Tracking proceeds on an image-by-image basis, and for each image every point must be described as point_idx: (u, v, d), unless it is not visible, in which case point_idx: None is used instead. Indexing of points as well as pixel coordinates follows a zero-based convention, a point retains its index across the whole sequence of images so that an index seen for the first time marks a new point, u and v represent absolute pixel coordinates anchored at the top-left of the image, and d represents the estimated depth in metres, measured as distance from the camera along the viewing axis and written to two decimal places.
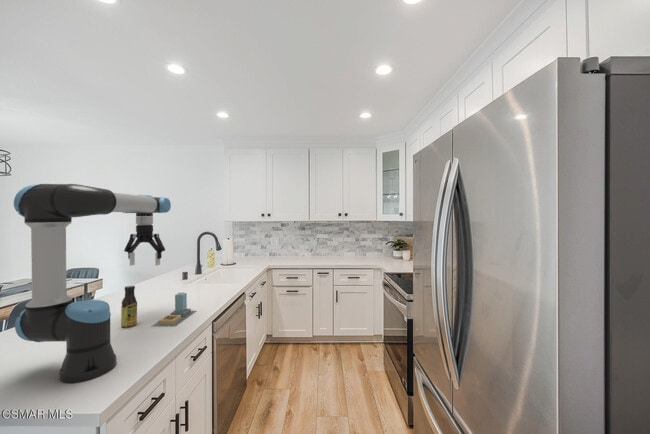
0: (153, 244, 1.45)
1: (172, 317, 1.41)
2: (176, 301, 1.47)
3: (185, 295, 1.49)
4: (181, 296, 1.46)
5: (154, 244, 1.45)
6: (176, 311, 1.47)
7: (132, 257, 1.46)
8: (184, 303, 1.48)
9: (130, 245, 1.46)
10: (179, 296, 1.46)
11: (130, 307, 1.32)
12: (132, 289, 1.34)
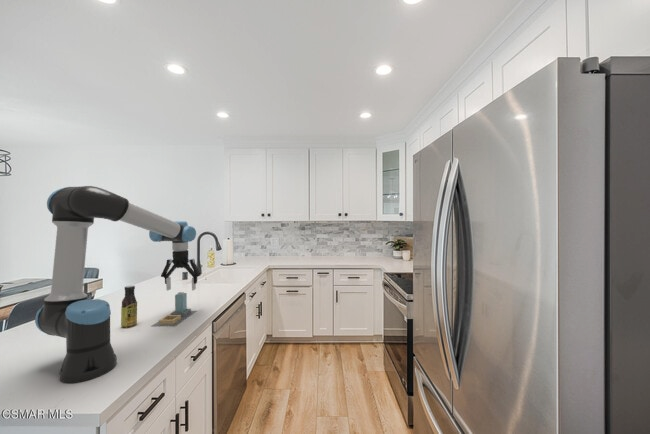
0: (189, 269, 1.47)
1: (172, 317, 1.41)
2: (176, 301, 1.47)
3: (185, 295, 1.49)
4: (181, 296, 1.46)
5: (190, 269, 1.48)
6: (176, 311, 1.47)
7: (168, 282, 1.49)
8: (184, 303, 1.48)
9: (166, 270, 1.49)
10: (179, 296, 1.46)
11: (130, 307, 1.32)
12: (132, 289, 1.34)
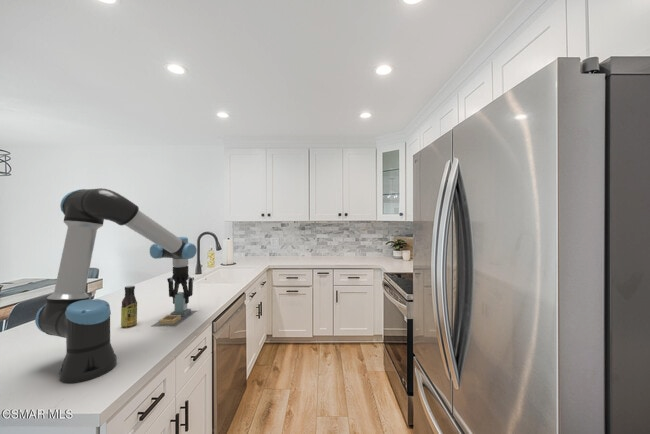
0: (185, 288, 1.47)
1: (172, 317, 1.41)
2: (176, 301, 1.46)
3: None
4: (181, 296, 1.46)
5: (185, 288, 1.48)
6: (176, 311, 1.46)
7: None
8: None
9: (172, 289, 1.48)
10: (179, 296, 1.46)
11: (130, 307, 1.32)
12: (132, 289, 1.34)
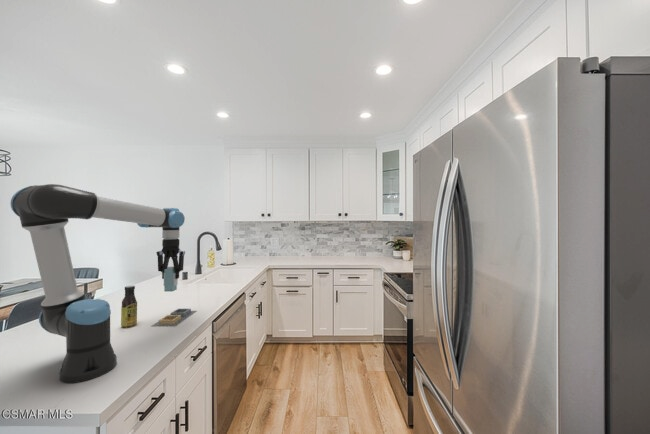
0: (175, 262, 1.38)
1: (172, 317, 1.41)
2: (165, 276, 1.38)
3: None
4: (171, 270, 1.38)
5: (176, 262, 1.39)
6: (165, 286, 1.38)
7: None
8: None
9: (161, 263, 1.40)
10: (169, 270, 1.38)
11: (130, 307, 1.32)
12: (132, 289, 1.34)
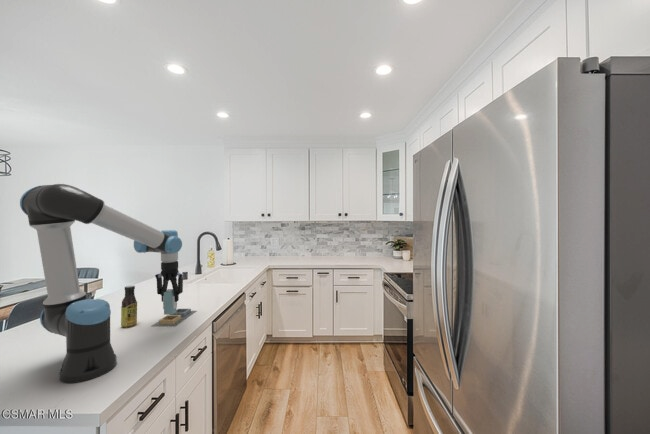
0: (174, 285, 1.37)
1: (172, 317, 1.41)
2: (165, 299, 1.37)
3: None
4: (170, 293, 1.36)
5: (175, 285, 1.38)
6: (165, 309, 1.37)
7: None
8: None
9: (160, 286, 1.38)
10: (168, 293, 1.36)
11: (130, 307, 1.32)
12: (132, 289, 1.34)
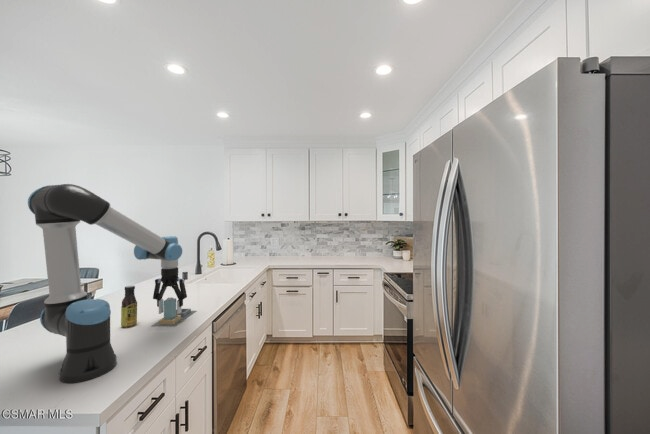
0: (177, 290, 1.37)
1: None
2: (165, 307, 1.37)
3: (175, 301, 1.39)
4: (170, 302, 1.36)
5: (177, 290, 1.38)
6: (165, 318, 1.37)
7: (161, 305, 1.38)
8: (173, 309, 1.38)
9: (157, 291, 1.39)
10: (168, 302, 1.36)
11: (130, 307, 1.32)
12: (132, 289, 1.34)
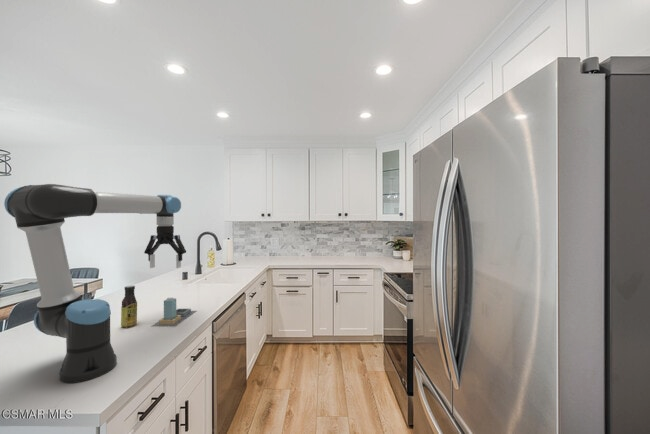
0: (174, 246, 1.39)
1: None
2: (165, 307, 1.37)
3: (175, 301, 1.39)
4: (170, 302, 1.36)
5: (175, 246, 1.40)
6: (165, 318, 1.37)
7: (152, 259, 1.40)
8: (173, 309, 1.38)
9: (150, 247, 1.41)
10: (168, 302, 1.36)
11: (130, 307, 1.32)
12: (132, 289, 1.34)
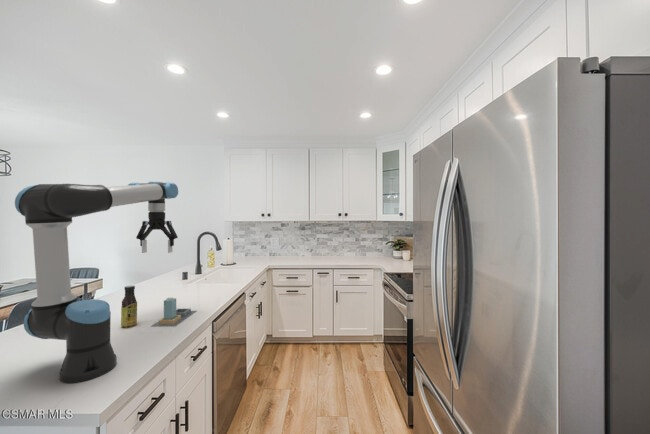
0: (165, 231, 1.43)
1: None
2: (165, 307, 1.37)
3: (175, 301, 1.39)
4: (170, 302, 1.36)
5: (166, 231, 1.44)
6: (165, 318, 1.37)
7: (144, 244, 1.44)
8: (173, 309, 1.38)
9: (142, 232, 1.45)
10: (168, 302, 1.36)
11: (130, 307, 1.32)
12: (132, 289, 1.34)
